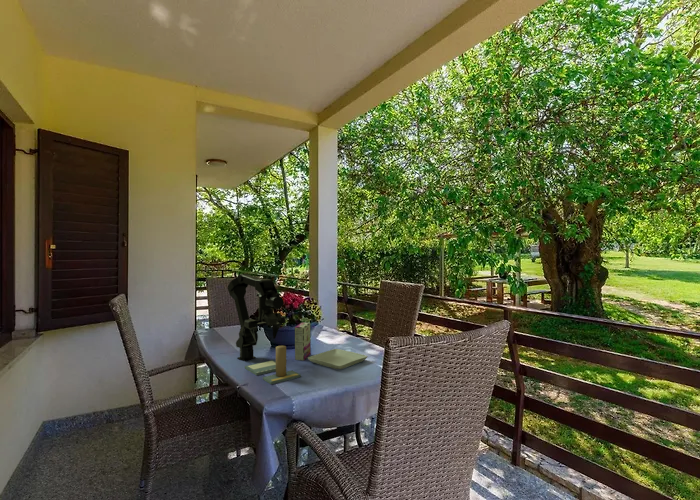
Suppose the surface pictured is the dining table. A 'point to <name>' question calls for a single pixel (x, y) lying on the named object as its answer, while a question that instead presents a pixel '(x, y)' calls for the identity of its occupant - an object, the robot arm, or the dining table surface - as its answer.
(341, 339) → the dining table surface
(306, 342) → the candy bar box
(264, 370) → the ticket
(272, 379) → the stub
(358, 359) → the salad plate
